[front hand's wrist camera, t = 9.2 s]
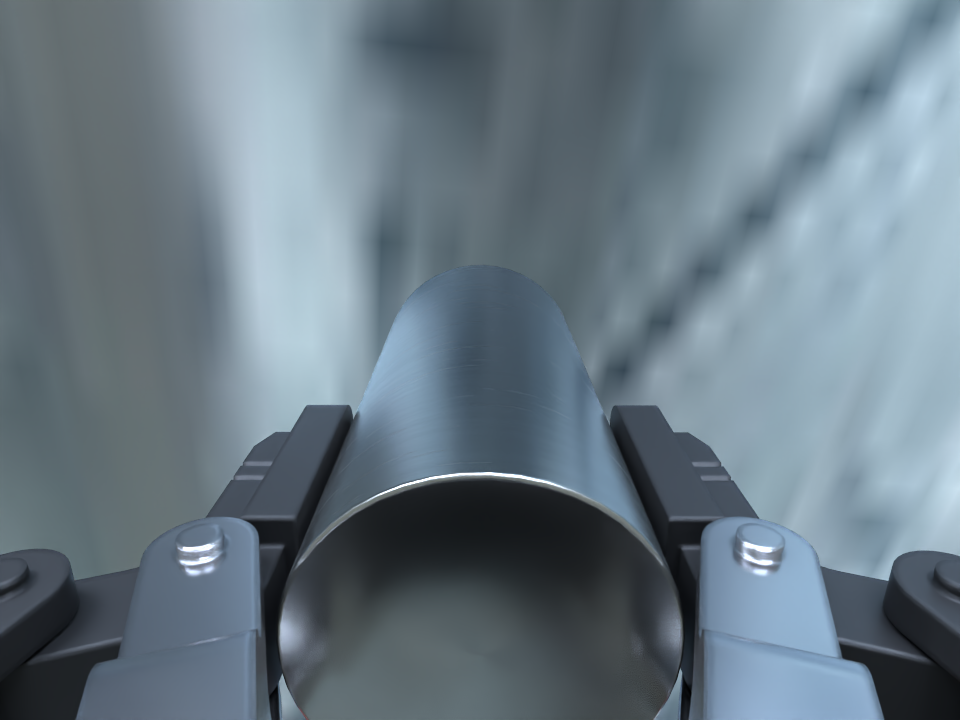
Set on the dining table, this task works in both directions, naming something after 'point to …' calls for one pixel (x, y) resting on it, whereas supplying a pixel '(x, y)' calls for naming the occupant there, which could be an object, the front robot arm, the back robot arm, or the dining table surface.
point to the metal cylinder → (480, 532)
